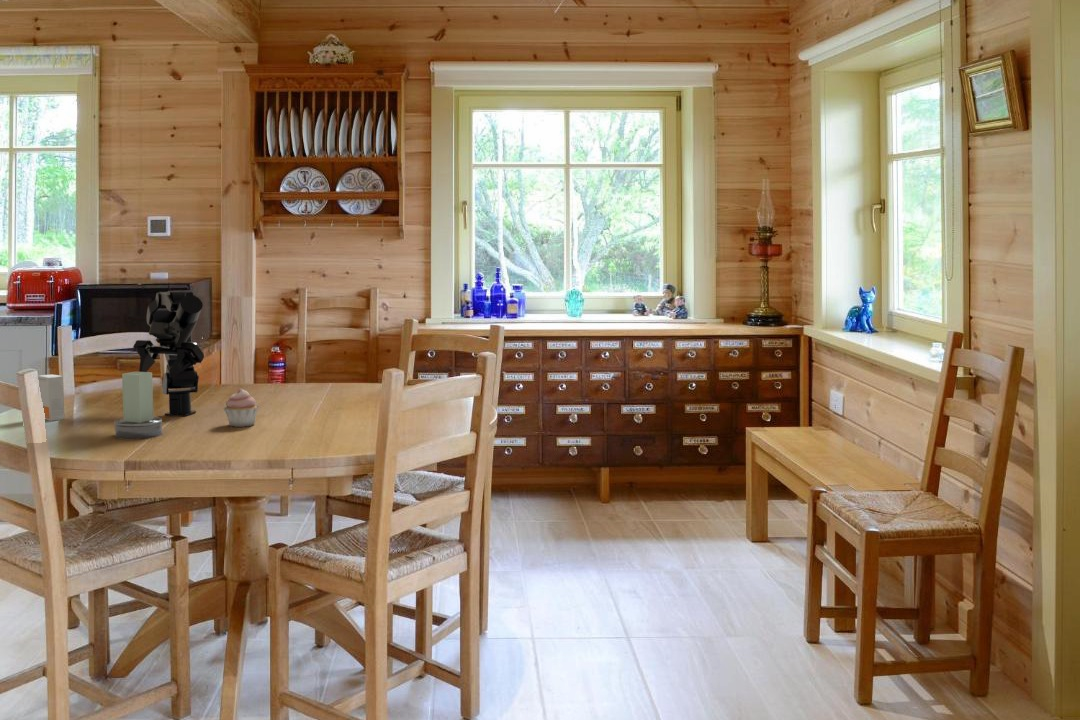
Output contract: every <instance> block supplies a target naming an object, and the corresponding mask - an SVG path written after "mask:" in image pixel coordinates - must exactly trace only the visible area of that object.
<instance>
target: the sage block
mask: <svg viewBox="0 0 1080 720" xmlns="http://www.w3.org/2000/svg"><path fill="white" fill-rule="evenodd" d="M121 379H122V382H121V383H122V385H121V387H122V388H121V389H122V413H123V415H122V417H123V418H122V419H124V421H126V422H139V423H141V422H145V421H149V420H153V417H154V394H153V393H154V391H153V389H154V388H153V372H149V371H147V372H139V371H136V370H135V371H131V372H125V373H122V374H121Z"/></svg>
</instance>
